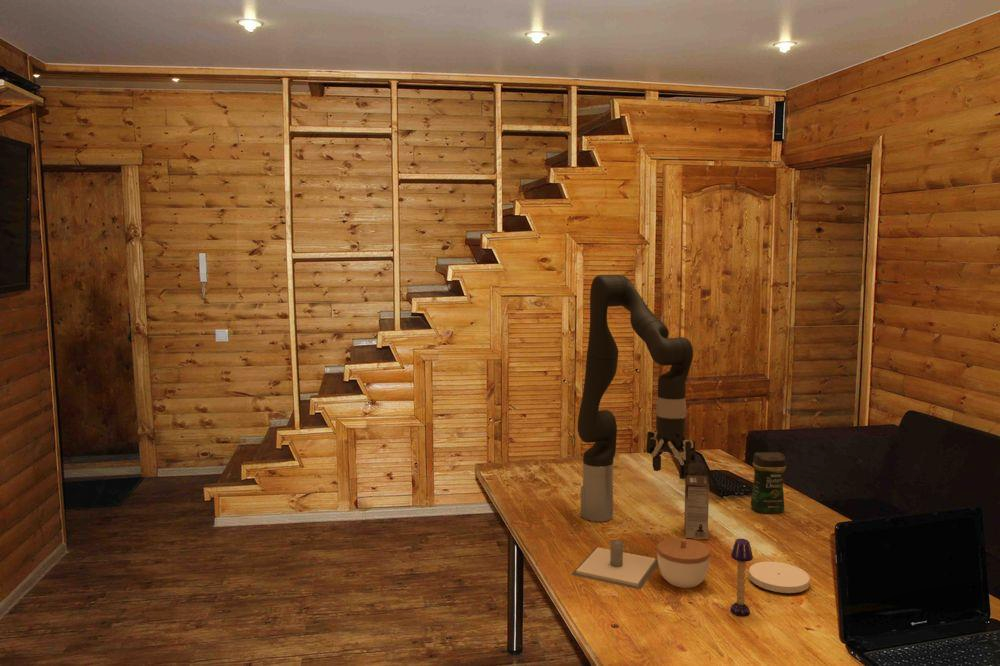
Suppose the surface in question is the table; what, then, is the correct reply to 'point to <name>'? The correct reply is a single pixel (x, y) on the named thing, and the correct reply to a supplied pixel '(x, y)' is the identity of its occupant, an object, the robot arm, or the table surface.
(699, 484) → the coffee box
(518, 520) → the table surface
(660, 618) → the table surface
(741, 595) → the toy lamp
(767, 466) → the coffee jar
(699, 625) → the table surface
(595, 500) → the robot arm
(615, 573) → the cover board
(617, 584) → the rubber mat
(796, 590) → the plastic lid
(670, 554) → the lidded bowl
